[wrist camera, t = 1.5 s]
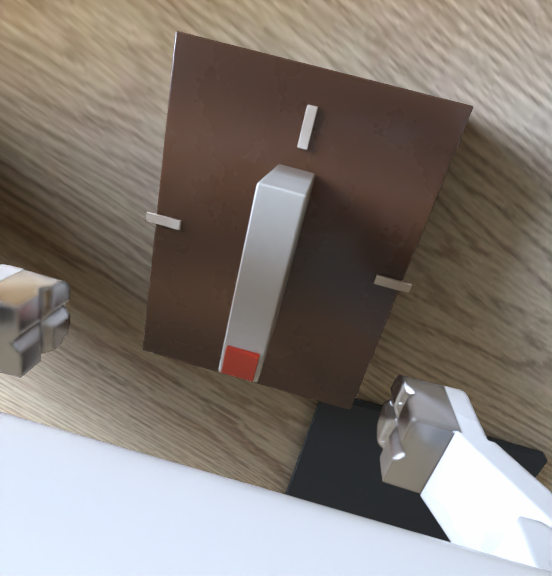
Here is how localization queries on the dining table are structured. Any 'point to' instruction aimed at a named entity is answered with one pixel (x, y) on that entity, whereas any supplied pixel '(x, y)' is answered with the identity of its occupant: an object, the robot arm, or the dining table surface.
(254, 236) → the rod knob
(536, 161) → the dining table surface
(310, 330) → the dial panel
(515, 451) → the coaster
